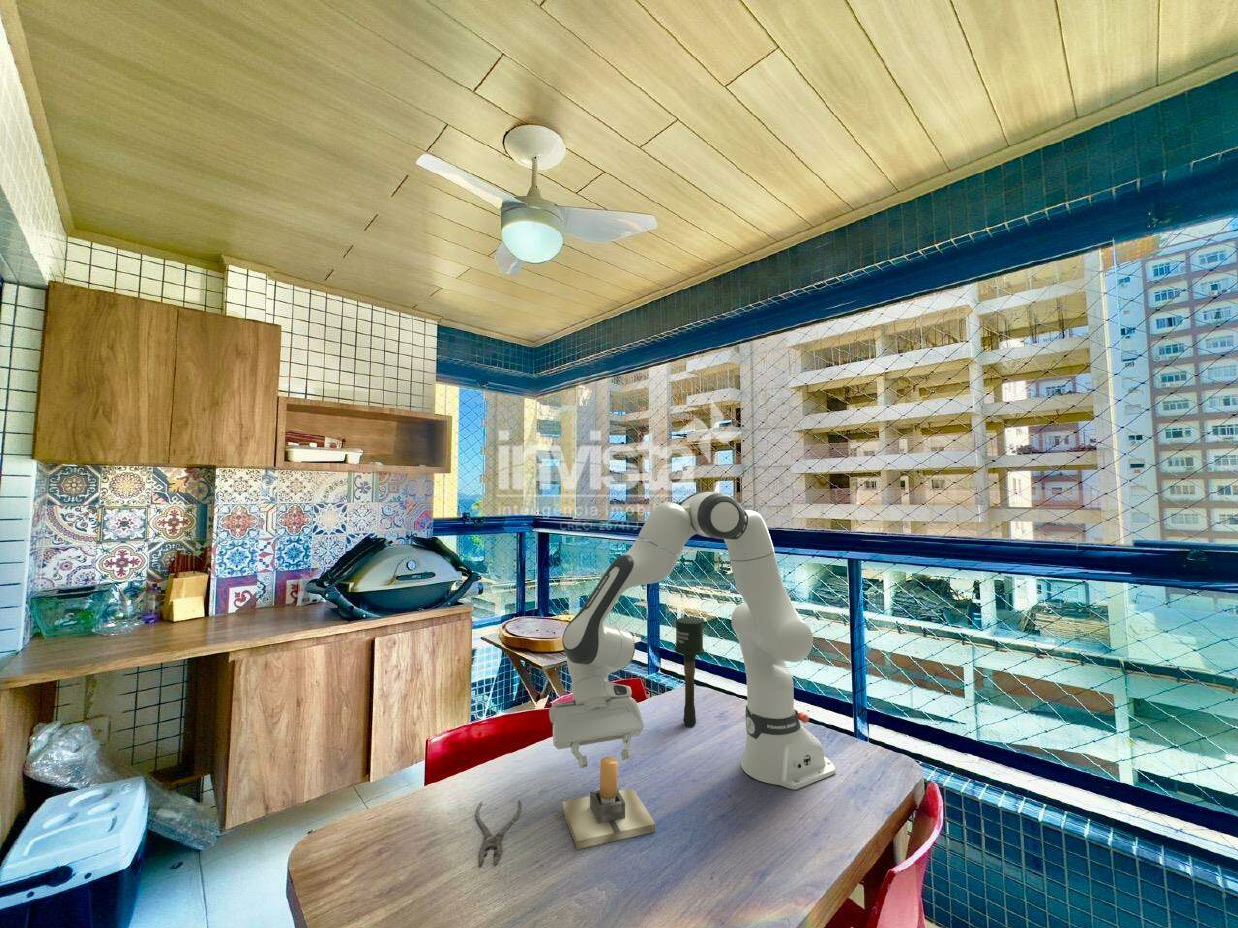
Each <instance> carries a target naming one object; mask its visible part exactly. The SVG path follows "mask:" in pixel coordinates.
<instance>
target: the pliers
mask: <svg viewBox="0 0 1238 928" xmlns="http://www.w3.org/2000/svg"><path fill="white" fill-rule="evenodd" d="M482 806H483V802H482V801H481V802H480V803H479V804H478V805H477V807H476V810H475V821H476V823H477V824H478V825H477V826H479V828H480V829H481V830H482V831H481V832H482V833H483V834H484V835H483V836H484V837H483V838H484V840H483V842H482V845H481V847H480V850H479V852H478V863H479V868H482V867H483V864H484V862H485V858H486V857H487V856H488V851H490V849H493V850H494V851H493V856H494V866H495V867H497V866H498V864H499V862H500V859H501V858H502V856H503V838H504V836H505V834H506V833H507V831H508V830H509V829H510V828H511V826H512V825H514V824H515V822H516V821H517V820H518V819H519V817H520V816H521V813H522V810H523V802H522V799H519V800H518V809H517V811H516V812H517V813H516V814H515V815H514V816H513V818H512V819H510V820H509V821H508V822H507V823H506V824H505V825H504V826H503V827H501V829H500V830H499V832H497V834H495V835H492V833H491V831H490V828H489V827H487V825H486V824H485V823H484V822H483V820H482V819H481V817H480V810H481V808H482Z"/></svg>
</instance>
